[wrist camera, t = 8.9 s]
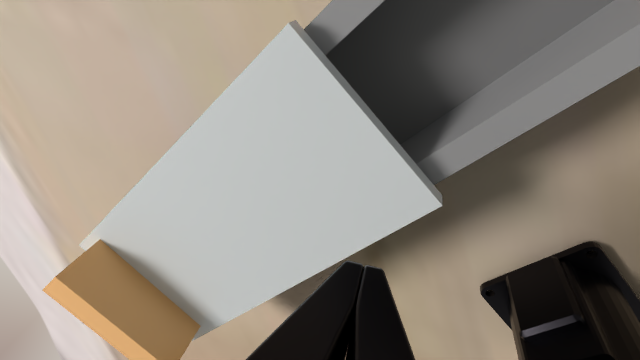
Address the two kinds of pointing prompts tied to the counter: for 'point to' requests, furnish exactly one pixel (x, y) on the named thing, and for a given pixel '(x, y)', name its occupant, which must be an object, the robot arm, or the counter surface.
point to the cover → (244, 206)
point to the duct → (474, 66)
